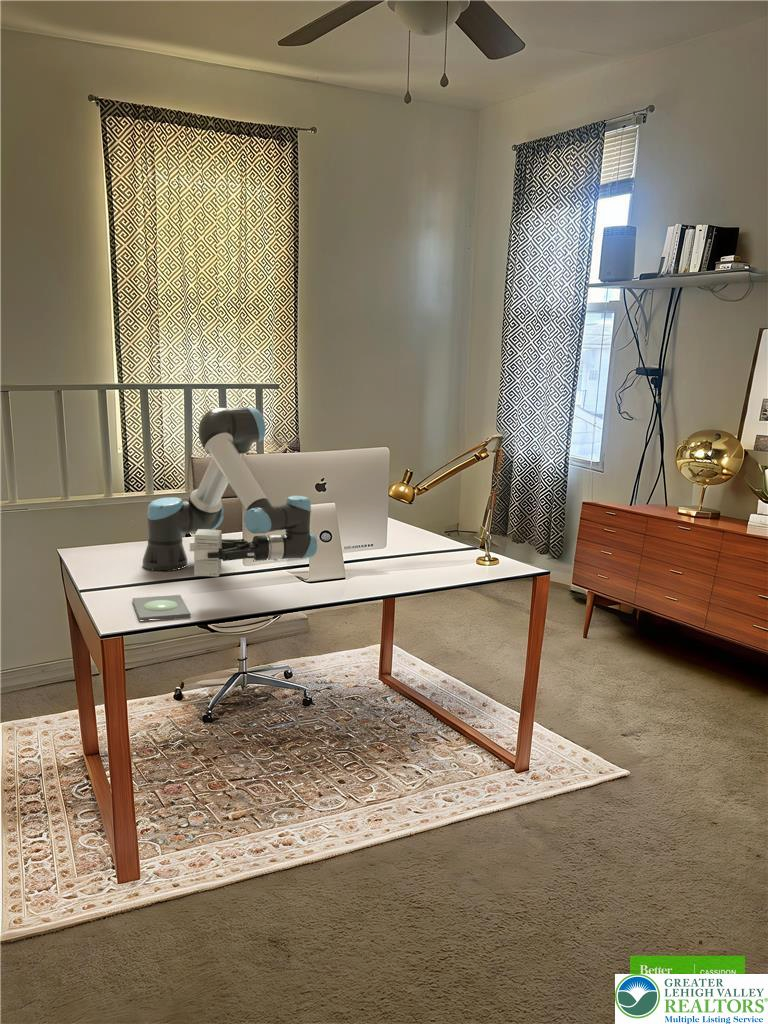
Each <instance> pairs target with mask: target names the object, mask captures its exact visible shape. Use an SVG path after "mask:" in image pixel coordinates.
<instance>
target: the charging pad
mask: <svg viewBox="0 0 768 1024" xmlns="http://www.w3.org/2000/svg"><path fill="white" fill-rule="evenodd" d="M132 604H133V608H134V610H135V609H136V610H135V612H137V613H136V614H137V615H136V616H137V618H138V617H139V618H138V621H139V620H149V619H167V620H179V619H188V618H189V619H190V618H191V612H190V609H188V608H189V607H187V605H186V603H185V601H184V599H183V597H182V595H181V594H173V595H161V596H160V595H159V596H158V595H157V596H143V597H132ZM175 618H176V619H175ZM177 618H178V619H177Z"/></svg>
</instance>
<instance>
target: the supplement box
mask: <svg viewBox="0 0 768 1024" xmlns="http://www.w3.org/2000/svg"><path fill="white" fill-rule="evenodd" d="M222 531H223V530H220V529H212V530H207V529H198V530H197V532H195V534H194V542H195V543H194V551H193V552H194V554H193V555H194V557H193V560H194V563H193V566H194V567H193V569H194V570H193V572H194V574H193V575H194V576H196V577H198V576H199V577H220V573H221V571H222V559H219V558H218V559H206V560H196V559H195V550H215V549H218V552H219V548H221V549H222V539H223V535H222V534H223V532H222Z"/></svg>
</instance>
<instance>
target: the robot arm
mask: <svg viewBox="0 0 768 1024" xmlns="http://www.w3.org/2000/svg"><path fill="white" fill-rule="evenodd" d="M265 435H266V424H265V419H264V416H263V414H262V412H261V411H260V410H259V409H257V408H254V407H248V406H243V407H214V408H212V409H210V410H208V411H207V412H206V413H204V415H203V416H202V417H201V419H200V421H199V424H198V437H199V442H200V444H201V447H202V448H203V450H204V452H205V453H206V454H207V455H211V456H212V458H211V459H210V462H209V464H208V466H207V469H206V471H205V472H204V475H203V477H202V480H201V481H200V483H199V485H198V488H196V489H194V490H192V491H191V493H190V495H189V497H188V498H187V500H182V498H180V497H176V496H175V497H174V496H173V497H172V496H170V497H162V498H158V499H155V500H152V501H150V503H149V504H148V506H147V515H146V517H147V545H146V549H145V551H144V555H143V557H142V567H143V566H144V567H145V568H144V567H143V568H144V569H146V568H148V569H147V570H149V569H153V570H152V571H155V570H172V571H174V570H173V569H178V568H182V567H184V566H186V565H187V566H188V556H187V554H186V551H185V548H184V545H183V535H185V534H186V535H187V534H194V533H196V532H197V530H198V529H207V530H216V529H217V528H218V527H220V525H221V524H222V522H223V520H224V512H225V511H224V509H225V508H224V506H223V503H222V500H221V499H222V497H223V496H224V493H225V491H226V489H227V487H228V484H229V486H230V487H231V489H232V491H233V492H234V494H235V495H236V497H237V498H238V500H239V502H240V504H241V505H242V507H243V509H244V510H245V514H244V518H243V522H244V523H245V525H244V526H245V528H246V529H247V531H248V532H250V533H251V534H255V535H254V536H253V538H252V540H251V541H248V540H245V539H244V538H240V539H231V538H230V539H226V538H225V539H223V538H222V549H221V548H219V552H218V549H215V550H195V559H196V560H206V559H218V558H219V559H221V562H222V561H223V562H227V561H236V560H245V559H254V560H255V561H266V560H267V559H268V560H273V561H275V562H276V561H278V560H285V559H286V560H287V559H306V558H312V557H315V555H316V554H317V551H318V540H317V537H316V535H315V534H314V533H311V530H310V529H311V515H312V505H311V504H312V503H311V499H310V498H309V497H308V496H304V495H290V496H288V497H287V498H286V502H285V504H278V505H272V504H271V502H270V501H269V498H267V496H266V494H265V493H264V491H263V490H262V488H261V486H260V485H259V483H258V482H257V480H256V478H255V476H254V475H253V473H252V471H251V470H250V469H249V467H248V465H247V463H246V462H245V460H244V459H243V457H242V456H243V455H246V454H247V453H248V452H250V450H251V448H252V446H253V444H254V443H258V444H259V442H261V441H263V440H264V438H265ZM283 530H285V533H284V534H267V535H256V534H266V533H270V532H276V531H283ZM194 543H195V541H189V552H194ZM187 566H186V567H187ZM182 569H183V568H182Z"/></svg>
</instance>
